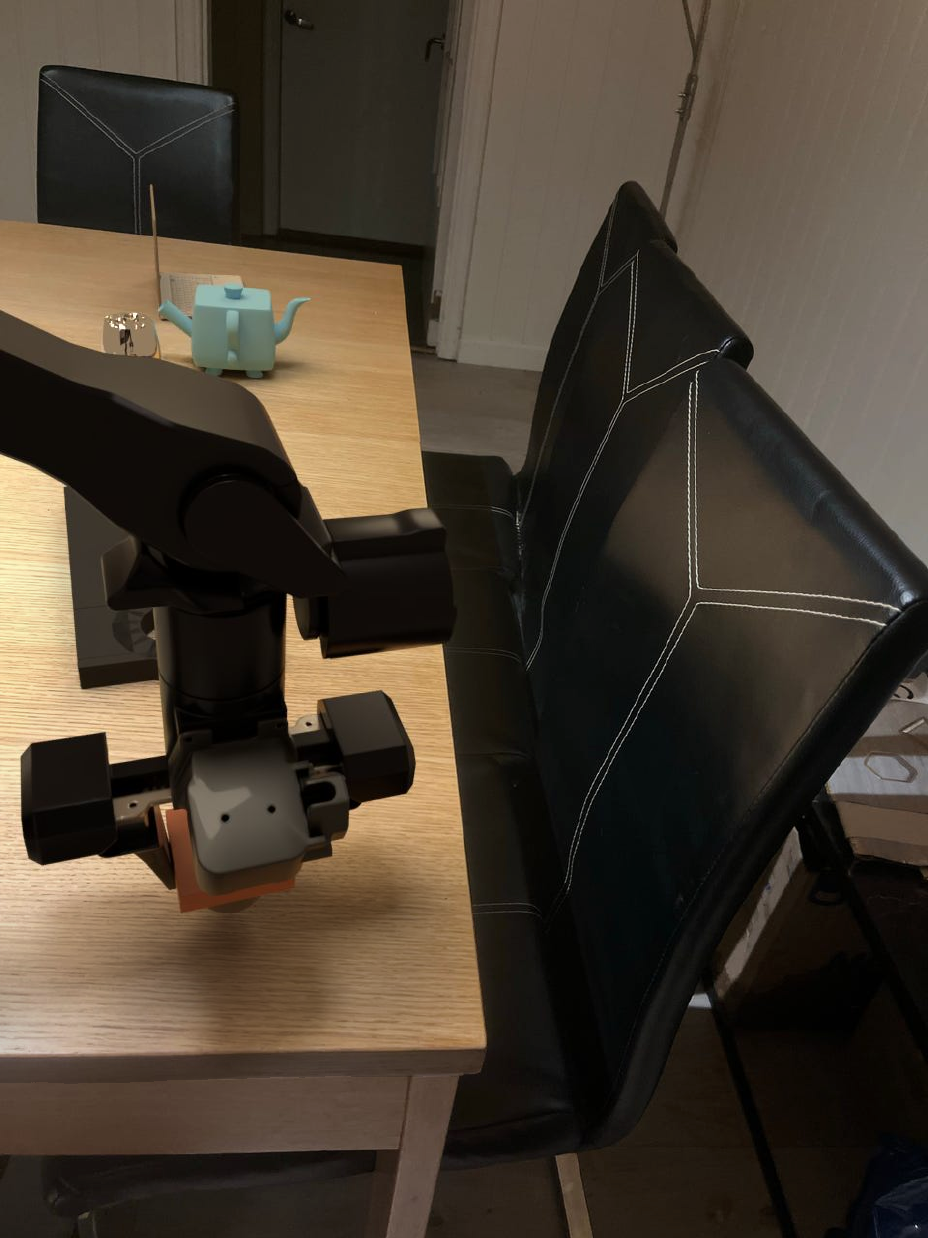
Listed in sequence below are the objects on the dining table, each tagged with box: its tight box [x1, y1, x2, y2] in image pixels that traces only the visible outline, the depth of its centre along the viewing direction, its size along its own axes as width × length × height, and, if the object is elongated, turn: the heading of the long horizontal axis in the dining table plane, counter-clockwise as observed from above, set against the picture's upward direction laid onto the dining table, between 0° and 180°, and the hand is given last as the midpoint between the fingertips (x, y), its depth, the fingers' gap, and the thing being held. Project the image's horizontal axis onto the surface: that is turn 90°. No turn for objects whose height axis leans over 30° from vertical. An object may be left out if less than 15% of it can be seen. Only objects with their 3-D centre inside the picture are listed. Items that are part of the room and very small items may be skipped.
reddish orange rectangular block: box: [164, 808, 296, 915], centre depth 51 cm, size 6×6×4 cm
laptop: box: [149, 183, 245, 320], centre depth 128 cm, size 18×12×13 cm
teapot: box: [157, 283, 311, 379], centre depth 112 cm, size 18×14×10 cm
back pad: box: [62, 486, 159, 689], centre depth 77 cm, size 26×14×2 cm, turn 21°
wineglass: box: [100, 311, 162, 359], centre depth 94 cm, size 6×6×12 cm
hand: (229, 870), depth 51 cm, fingers closed on reddish orange rectangular block, 6 cm apart
